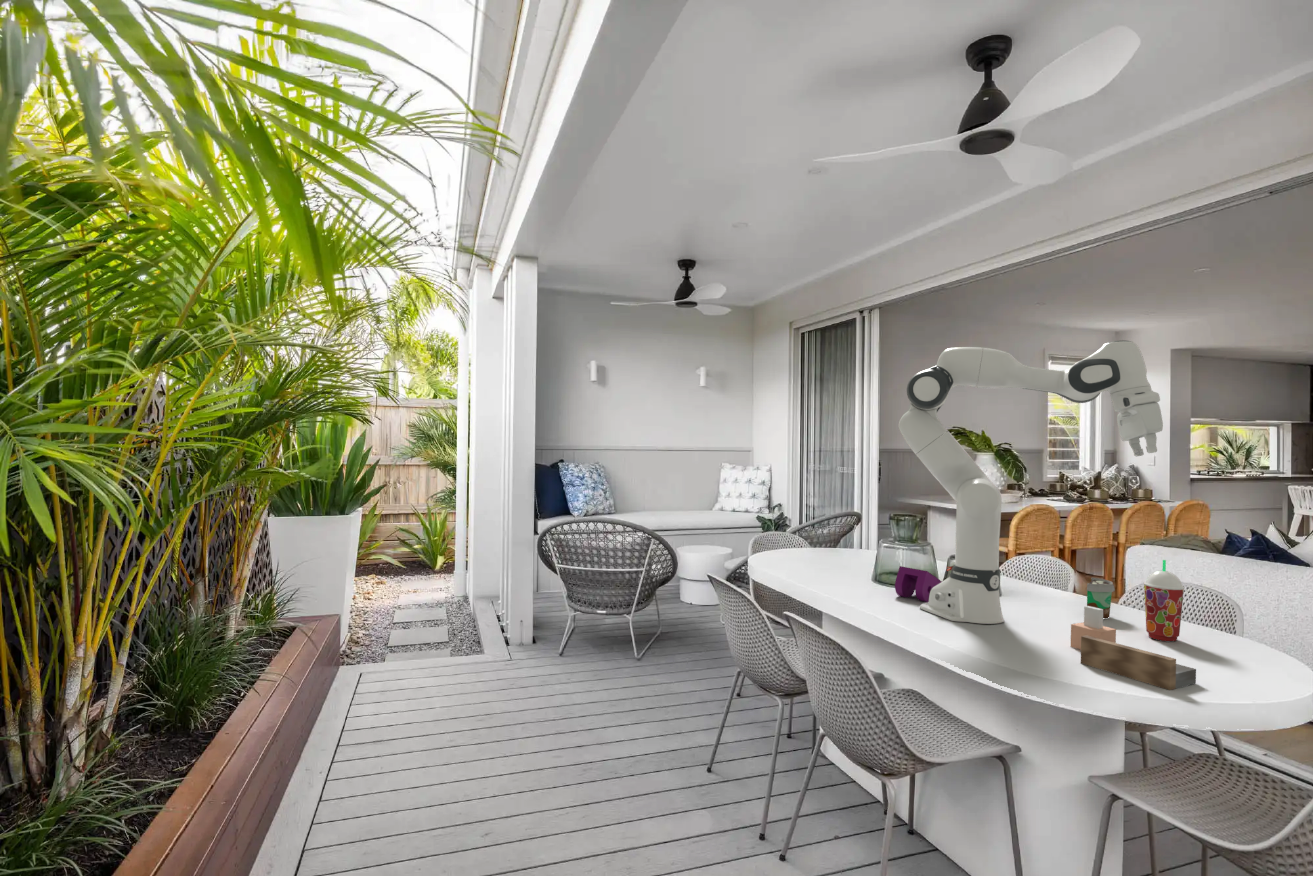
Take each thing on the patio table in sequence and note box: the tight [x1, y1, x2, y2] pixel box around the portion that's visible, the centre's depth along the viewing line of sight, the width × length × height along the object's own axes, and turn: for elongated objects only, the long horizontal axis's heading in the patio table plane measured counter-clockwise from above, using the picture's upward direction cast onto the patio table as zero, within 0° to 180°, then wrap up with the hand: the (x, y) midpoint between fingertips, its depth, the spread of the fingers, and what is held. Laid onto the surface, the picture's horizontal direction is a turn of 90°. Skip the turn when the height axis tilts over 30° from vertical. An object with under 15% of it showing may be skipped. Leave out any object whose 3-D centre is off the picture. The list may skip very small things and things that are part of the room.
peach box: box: [1070, 605, 1117, 651], centre depth 167 cm, size 7×6×10 cm
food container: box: [1086, 577, 1115, 618], centre depth 199 cm, size 12×6×10 cm, turn 143°
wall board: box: [1080, 635, 1197, 691], centre depth 150 cm, size 18×10×6 cm, turn 27°
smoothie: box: [1143, 559, 1185, 642], centre depth 177 cm, size 8×8×20 cm
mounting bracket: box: [894, 566, 942, 603], centre depth 220 cm, size 10×8×18 cm
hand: (1145, 454), depth 177 cm, fingers open, 8 cm apart
